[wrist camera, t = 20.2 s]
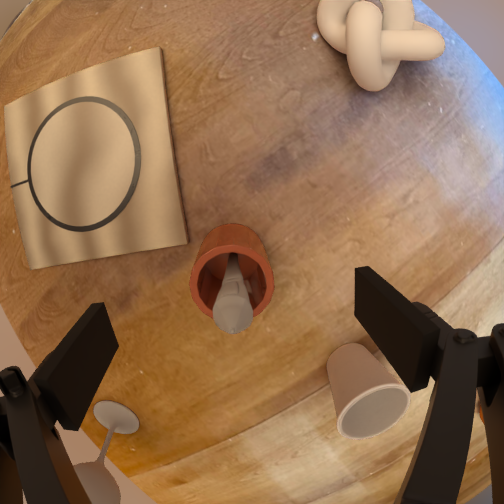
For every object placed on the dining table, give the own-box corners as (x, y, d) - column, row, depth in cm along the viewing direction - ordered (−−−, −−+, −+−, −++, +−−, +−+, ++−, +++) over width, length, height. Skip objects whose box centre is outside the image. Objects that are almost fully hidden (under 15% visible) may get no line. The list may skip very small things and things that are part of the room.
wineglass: (135, 403, 36) (96, 533, 16) (144, 436, 38) (118, 553, 18) (87, 395, 36) (34, 510, 16) (100, 429, 38) (62, 535, 18)
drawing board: (34, 267, 30) (29, 270, 29) (8, 106, 24) (3, 106, 23) (189, 241, 30) (187, 244, 29) (162, 49, 25) (159, 45, 24)
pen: (222, 271, 31) (215, 354, 17) (217, 245, 30) (206, 314, 16) (247, 267, 31) (258, 348, 17) (243, 241, 30) (252, 308, 16)
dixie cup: (319, 393, 37) (339, 449, 28) (311, 345, 35) (334, 402, 25) (378, 374, 37) (408, 424, 27) (376, 325, 35) (414, 373, 25)
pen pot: (206, 288, 32) (199, 327, 24) (195, 228, 30) (182, 252, 22) (267, 279, 32) (278, 316, 24) (259, 219, 30) (268, 239, 22)
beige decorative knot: (394, 118, 28) (444, 109, 19) (289, 69, 26) (311, 36, 17) (415, 39, 25) (460, 16, 16) (321, -9, 23) (347, -52, 15)
